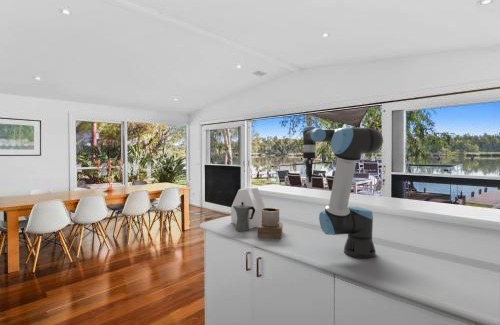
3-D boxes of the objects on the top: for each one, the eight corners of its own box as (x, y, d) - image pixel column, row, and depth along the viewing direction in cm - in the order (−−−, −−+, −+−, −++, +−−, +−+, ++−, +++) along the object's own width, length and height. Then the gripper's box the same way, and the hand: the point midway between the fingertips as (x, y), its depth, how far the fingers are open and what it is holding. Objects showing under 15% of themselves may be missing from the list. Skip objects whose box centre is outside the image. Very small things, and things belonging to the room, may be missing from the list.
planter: (279, 222, 188) (279, 207, 187) (279, 227, 177) (279, 211, 176) (262, 222, 189) (262, 207, 188) (261, 227, 178) (261, 211, 177)
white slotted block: (265, 224, 207) (265, 189, 205) (248, 228, 197) (248, 191, 195) (247, 219, 221) (247, 186, 220) (231, 222, 211) (231, 188, 210)
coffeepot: (230, 230, 192) (230, 202, 191) (236, 226, 201) (236, 200, 200) (252, 232, 187) (252, 204, 186) (257, 228, 195) (257, 201, 194)
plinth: (281, 238, 175) (281, 228, 175) (257, 237, 177) (257, 227, 177) (282, 231, 189) (282, 222, 188) (260, 230, 191) (260, 221, 191)
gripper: (302, 151, 195) (301, 184, 195) (304, 151, 170) (303, 188, 171) (313, 151, 194) (313, 184, 194) (317, 152, 169) (317, 189, 170)
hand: (308, 186), depth 183 cm, fingers open, 13 cm apart
